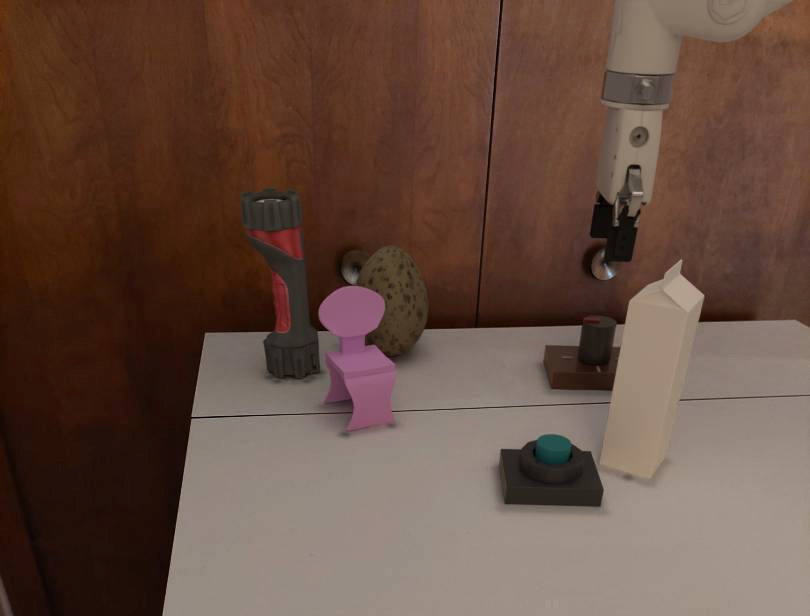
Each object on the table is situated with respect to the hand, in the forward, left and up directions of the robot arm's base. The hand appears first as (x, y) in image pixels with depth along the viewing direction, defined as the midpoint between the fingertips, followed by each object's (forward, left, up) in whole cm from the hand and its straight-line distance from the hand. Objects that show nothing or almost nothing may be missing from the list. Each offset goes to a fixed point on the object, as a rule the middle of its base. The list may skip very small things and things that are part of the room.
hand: (609, 248), depth 99 cm
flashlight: (+41, -1, -18) cm, 45 cm away
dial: (-1, -2, -15) cm, 15 cm away
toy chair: (+30, +11, -18) cm, 37 cm away
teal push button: (+9, +27, -14) cm, 32 cm away
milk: (-2, +21, -18) cm, 28 cm away
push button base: (+9, +27, -18) cm, 34 cm away
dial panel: (-1, -2, -18) cm, 18 cm away
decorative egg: (+27, -8, -18) cm, 33 cm away
